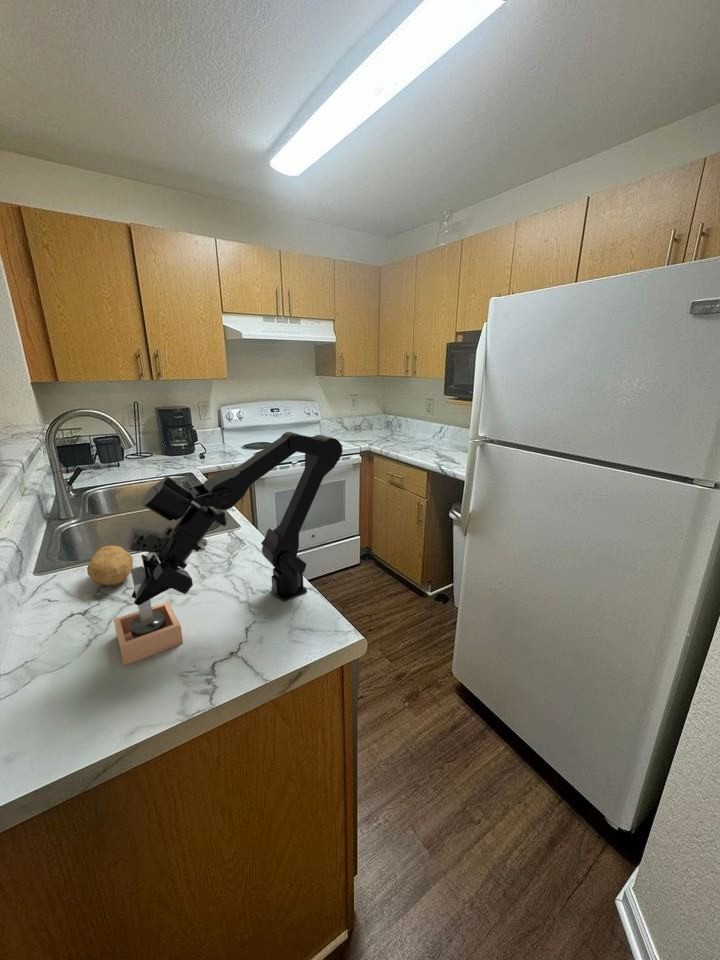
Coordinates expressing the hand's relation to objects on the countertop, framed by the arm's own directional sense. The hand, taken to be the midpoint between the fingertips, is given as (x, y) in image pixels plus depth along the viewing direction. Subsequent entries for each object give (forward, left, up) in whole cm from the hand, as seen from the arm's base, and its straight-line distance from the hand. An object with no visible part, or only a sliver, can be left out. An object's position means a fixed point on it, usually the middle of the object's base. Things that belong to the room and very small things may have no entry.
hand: (135, 600), depth 73 cm
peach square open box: (-1, 0, -9) cm, 9 cm away
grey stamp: (-1, 0, -7) cm, 7 cm away
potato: (+2, -30, -9) cm, 31 cm away
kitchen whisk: (-21, -34, -10) cm, 41 cm away
